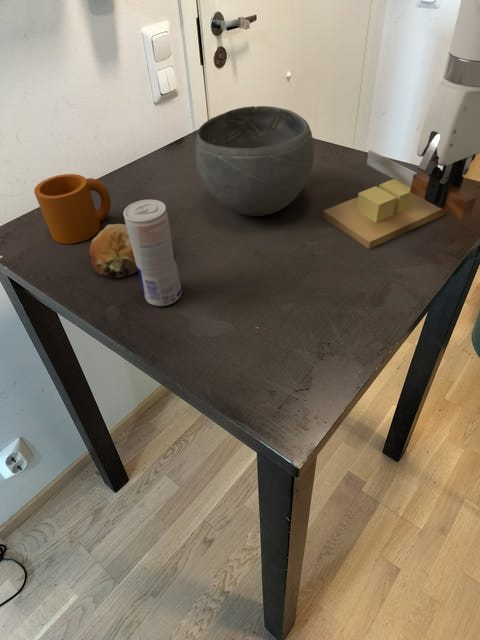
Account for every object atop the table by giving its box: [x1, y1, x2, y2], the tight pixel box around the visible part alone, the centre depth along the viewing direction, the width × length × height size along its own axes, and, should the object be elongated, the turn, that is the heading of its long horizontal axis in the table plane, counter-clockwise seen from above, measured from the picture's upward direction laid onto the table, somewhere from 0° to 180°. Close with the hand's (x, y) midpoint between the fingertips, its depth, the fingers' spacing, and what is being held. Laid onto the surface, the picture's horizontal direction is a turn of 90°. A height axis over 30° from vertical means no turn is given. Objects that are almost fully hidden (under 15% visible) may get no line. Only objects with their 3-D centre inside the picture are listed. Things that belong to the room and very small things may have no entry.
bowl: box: [194, 105, 315, 217], centre depth 83 cm, size 21×21×15 cm
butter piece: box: [356, 185, 397, 223], centre depth 80 cm, size 4×5×4 cm
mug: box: [33, 173, 112, 245], centre depth 82 cm, size 9×12×9 cm
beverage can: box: [122, 199, 183, 307], centre depth 65 cm, size 6×6×15 cm
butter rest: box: [378, 178, 416, 214], centre depth 82 cm, size 4×5×4 cm
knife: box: [366, 149, 478, 220], centre depth 74 cm, size 21×2×3 cm, turn 32°
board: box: [322, 195, 447, 250], centre depth 83 cm, size 18×12×2 cm, turn 122°
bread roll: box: [88, 223, 138, 279], centre depth 76 cm, size 10×10×8 cm
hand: (440, 199), depth 71 cm, fingers closed on knife, 2 cm apart
